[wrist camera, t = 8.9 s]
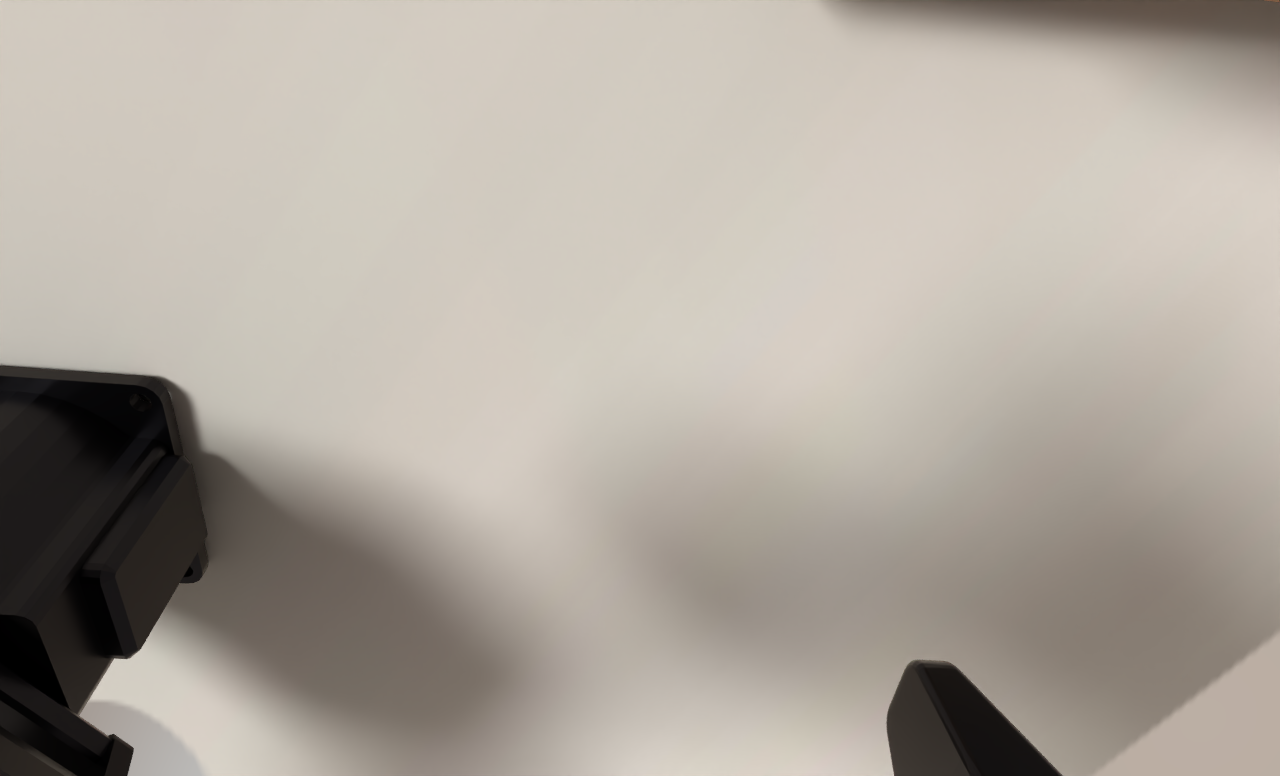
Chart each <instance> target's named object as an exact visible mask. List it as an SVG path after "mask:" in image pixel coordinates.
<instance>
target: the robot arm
mask: <svg viewBox="0 0 1280 776" xmlns="http://www.w3.org/2000/svg"><path fill="white" fill-rule="evenodd" d="M138 394H141V395H145V396H146V397H147V398H149V399H150V401H151V402H152V403H150V402H146V401H144V400H143V399H141V398H140V397H139V395H138ZM206 537H207V529H206V525H205V520H204V516H203V512H202V507H201V503H200V498H199V494H198V490H197V485H196V481H195V476H194V472H193V467H192V464H191V463H190V462H189V460H188V459H187V458H186V457H185V456H184V453H183V449H182V445H181V440H180V436H179V432H178V427H177V423H176V419H175V414H174V410H173V406H172V401H171V397H170V394H169V392H168V390H167V388H166V387H165V386H164V385H163V384H162V383H161V382H159V381H157V380H155V379H154V378H150V377H146V376H135V375H120V374H106V373H92V372H78V371H64V370H50V369H36V368H22V367H8V366H0V776H127V775H128V771H129V766H130V763H131V759H132V755H133V750H134V748H133V747H132V746H130V745H129V744H127V743H126V742H124V741H123V740H122V739H120V738H119V737H117V736H116V735H114V734H112V735H109V736H107V735H106V734H105V733H103V732H102V731H100V730H99V729H97V728H96V727H94V726H93V725H92V724H90V723H89V722H87V721H86V720H84V719H83V718H81V717H80V716H79V715H80V713H81V712H82V710H83V708H84V707H85V705H86V703H87V702H88V700H89V699H90V697H91V695H92V694H93V692H94V690H95V689H96V687H97V686H98V684H99V682H100V681H101V679H102V677H103V676H104V674H105V673H106V671H107V669H108V668H109V666H110V664H111V663H112V661H113V660H114V658H116V659H129V658H131V657H132V656H133V655H134V654H136V653H137V652H138V651H139V650H140V649H141V648H142V646H143V644H144V643H145V641H146V639H147V637H148V636H149V634H150V632H151V631H152V629H153V627H154V626H155V624H156V622H157V620H158V619H159V617H160V615H161V614H162V612H163V610H164V609H165V607H166V605H167V603H168V602H169V600H170V598H171V597H172V595H173V593H174V592H175V590H176V588H177V586H178V585H179V583H194V582H197V581H199V580H200V578H201V577H202V576H203V574H204V572H205V570H206V569H207V567H208V557H207V553H206V549H205V544H204V541H205V539H206ZM887 735H888V741H889V747H890V753H891V759H892V765H893V772H894V776H1063V775H1062V774H1061V773H1060V772H1059V771H1058V770H1057V769H1056V768H1055V767H1054V766H1053V765H1052V764H1051V763H1050V762H1049V761H1048V760H1047V759H1046V758H1045V757H1044V756H1043V755H1042V754H1041V753H1040V752H1039V751H1038V750H1037V749H1036V748H1035V747H1034V746H1033V745H1032V744H1031V743H1030V742H1029V741H1028V740H1027V739H1026V738H1025V736H1024V735H1023V734H1022V733H1021V732H1020V731H1019V730H1018V729H1017V728H1016V727H1015V726H1014V725H1013V724H1012V723H1011V722H1010V721H1009V720H1008V719H1007V718H1006V717H1005V716H1004V715H1003V714H1002V713H1001V712H1000V711H999V710H998V709H997V708H996V707H995V706H994V705H993V704H992V703H991V702H990V701H989V700H988V699H987V697H986V696H985V695H984V694H983V693H982V692H981V691H980V690H979V689H978V688H977V687H976V686H975V685H974V684H973V683H972V682H971V681H970V680H969V679H968V678H967V677H966V676H965V675H964V674H963V673H962V672H961V671H960V670H959V669H958V668H957V667H956V666H954V665H953V664H951V663H949V662H945V661H932V660H913V661H912V662H910V663H909V664H908V665H907V667H906V668H905V670H904V673H903V675H902V678H901V680H900V682H899V685H898V687H897V690H896V692H895V694H894V697H893V699H892V701H891V704H890V706H889V709H888V714H887Z"/></svg>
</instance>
